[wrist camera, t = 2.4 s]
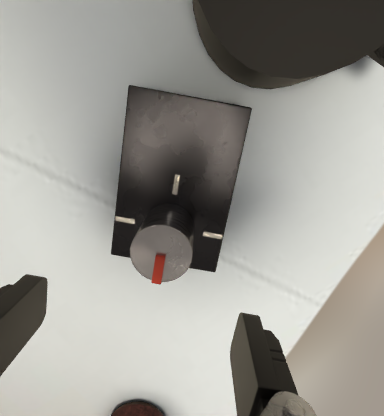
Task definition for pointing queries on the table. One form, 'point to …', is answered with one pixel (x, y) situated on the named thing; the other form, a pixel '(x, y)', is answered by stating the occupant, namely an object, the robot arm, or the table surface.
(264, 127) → the table surface
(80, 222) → the table surface
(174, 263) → the knob
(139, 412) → the can
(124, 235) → the panel
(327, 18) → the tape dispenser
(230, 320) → the table surface
